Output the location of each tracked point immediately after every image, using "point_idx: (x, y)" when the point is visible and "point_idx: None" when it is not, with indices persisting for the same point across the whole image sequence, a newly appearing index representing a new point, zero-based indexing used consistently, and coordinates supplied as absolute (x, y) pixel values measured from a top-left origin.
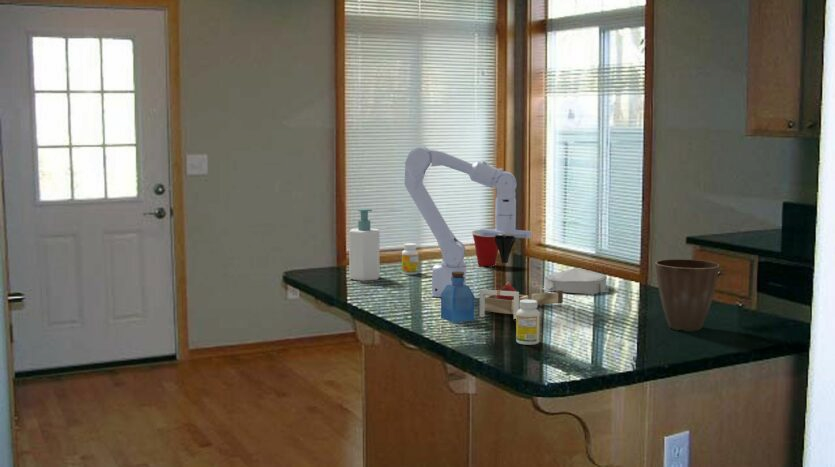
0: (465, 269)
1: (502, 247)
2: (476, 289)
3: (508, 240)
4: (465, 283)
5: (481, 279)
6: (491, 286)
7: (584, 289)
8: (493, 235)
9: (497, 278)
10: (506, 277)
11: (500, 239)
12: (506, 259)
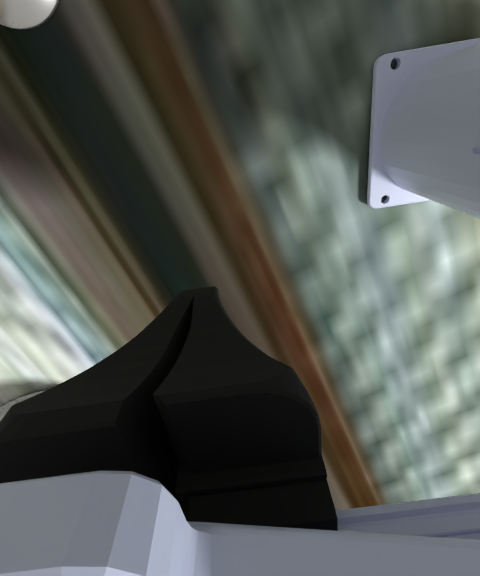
0: (467, 145)
1: (183, 347)
2: (372, 311)
3: (19, 413)
4: (408, 142)
5: (399, 445)
6: (337, 377)
7: (1, 418)
8: (382, 525)
9: (357, 471)
10: (338, 488)
11: (183, 412)
12: (171, 302)
